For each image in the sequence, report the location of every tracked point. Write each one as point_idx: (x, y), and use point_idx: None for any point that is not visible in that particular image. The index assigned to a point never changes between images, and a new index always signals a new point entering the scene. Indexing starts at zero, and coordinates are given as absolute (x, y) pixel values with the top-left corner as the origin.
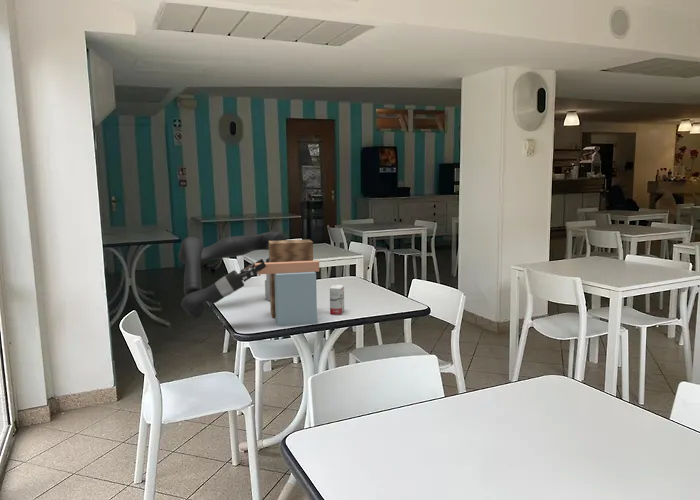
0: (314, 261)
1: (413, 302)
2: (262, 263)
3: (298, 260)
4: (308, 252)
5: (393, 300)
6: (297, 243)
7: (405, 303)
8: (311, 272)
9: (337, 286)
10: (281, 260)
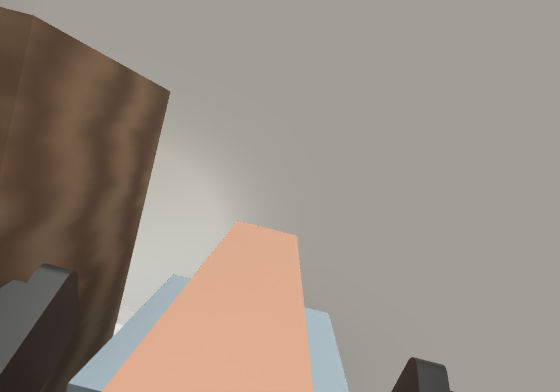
0: (274, 234)
1: (121, 308)
2: (441, 387)
3: (109, 220)
4: (146, 159)
5: None
6: (140, 82)
7: (118, 317)
8: (305, 315)
9: (114, 331)
10: (48, 235)
